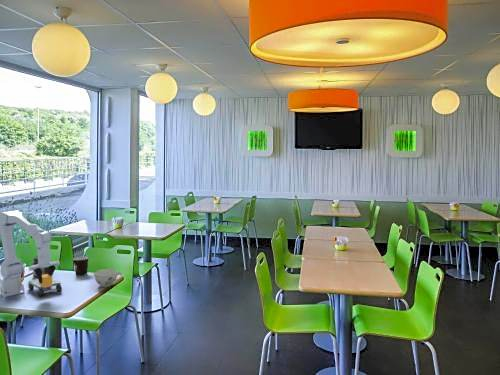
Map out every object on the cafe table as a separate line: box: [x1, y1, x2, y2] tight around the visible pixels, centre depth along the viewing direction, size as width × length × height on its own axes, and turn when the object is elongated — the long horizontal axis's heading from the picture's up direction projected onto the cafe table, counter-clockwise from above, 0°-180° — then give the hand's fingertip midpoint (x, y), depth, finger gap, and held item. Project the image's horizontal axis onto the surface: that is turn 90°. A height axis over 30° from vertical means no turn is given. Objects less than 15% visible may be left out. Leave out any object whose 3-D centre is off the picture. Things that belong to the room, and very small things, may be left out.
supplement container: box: [31, 255, 48, 279], centre depth 259 cm, size 10×10×12 cm
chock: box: [39, 274, 53, 289], centre depth 218 cm, size 4×6×5 cm, turn 47°
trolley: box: [27, 277, 63, 298], centre depth 231 cm, size 11×20×5 cm, turn 44°
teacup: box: [93, 268, 123, 288], centre depth 240 cm, size 15×12×8 cm
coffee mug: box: [72, 256, 89, 277], centre depth 262 cm, size 12×9×10 cm
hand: (45, 281), depth 219 cm, fingers closed on chock, 4 cm apart
